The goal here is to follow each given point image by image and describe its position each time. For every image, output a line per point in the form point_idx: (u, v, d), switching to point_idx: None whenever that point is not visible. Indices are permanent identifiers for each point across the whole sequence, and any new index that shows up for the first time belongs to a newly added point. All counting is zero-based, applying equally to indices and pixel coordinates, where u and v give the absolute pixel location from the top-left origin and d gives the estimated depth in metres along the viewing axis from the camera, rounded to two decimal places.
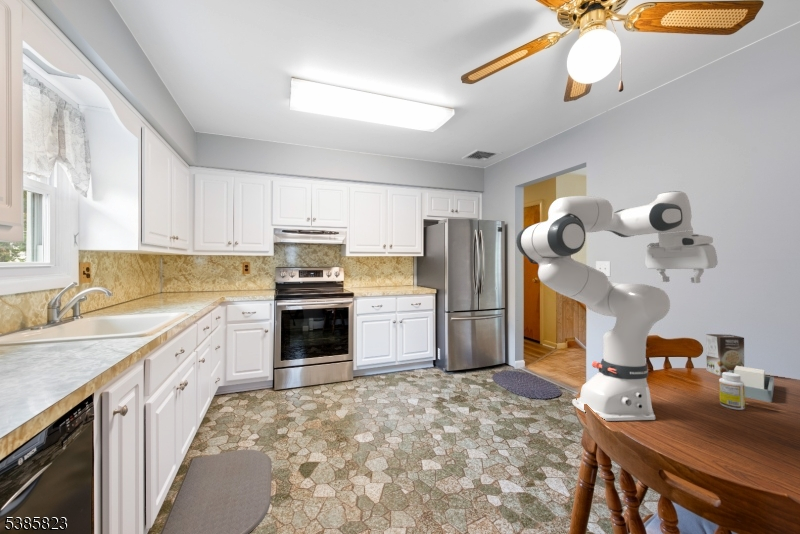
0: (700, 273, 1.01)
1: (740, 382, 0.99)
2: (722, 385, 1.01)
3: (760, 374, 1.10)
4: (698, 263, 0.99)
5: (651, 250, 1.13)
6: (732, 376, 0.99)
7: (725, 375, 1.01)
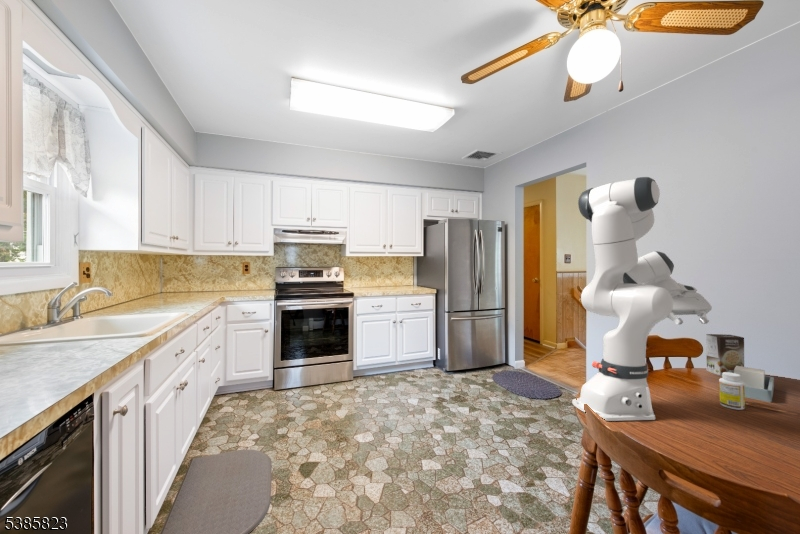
0: None
1: (740, 382, 0.99)
2: (722, 385, 1.01)
3: (760, 374, 1.10)
4: (703, 305, 1.17)
5: None
6: (732, 376, 0.99)
7: (725, 375, 1.01)
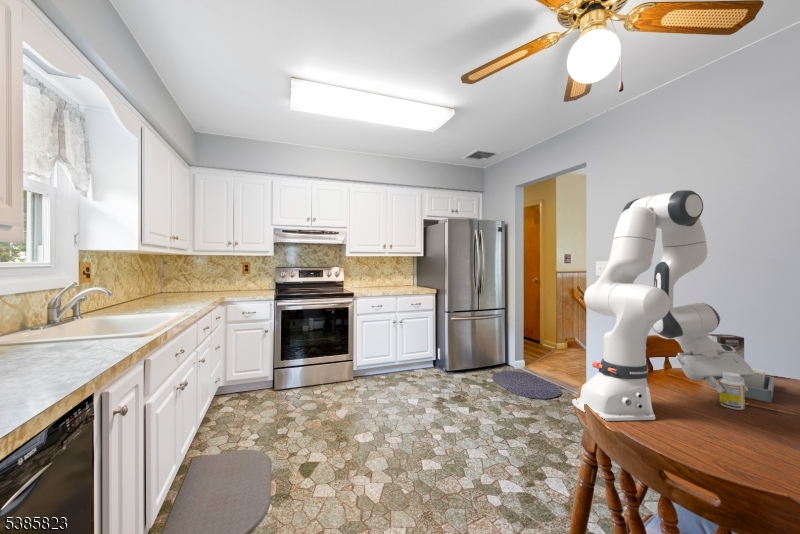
0: None
1: (740, 382, 0.99)
2: None
3: (760, 374, 1.10)
4: (744, 369, 1.04)
5: (690, 356, 1.07)
6: (732, 376, 0.99)
7: (725, 375, 1.01)
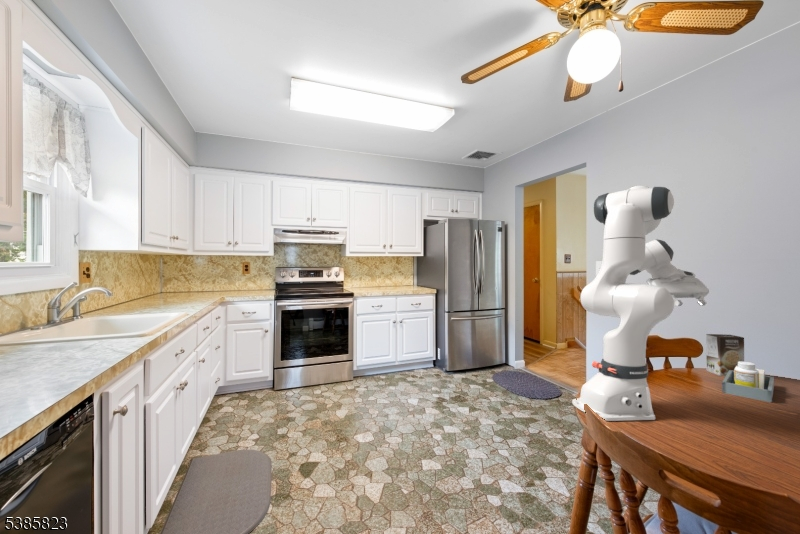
0: None
1: (755, 370, 1.07)
2: (738, 373, 1.08)
3: (760, 374, 1.10)
4: (701, 288, 1.26)
5: (658, 280, 1.29)
6: (747, 365, 1.07)
7: (741, 364, 1.08)
